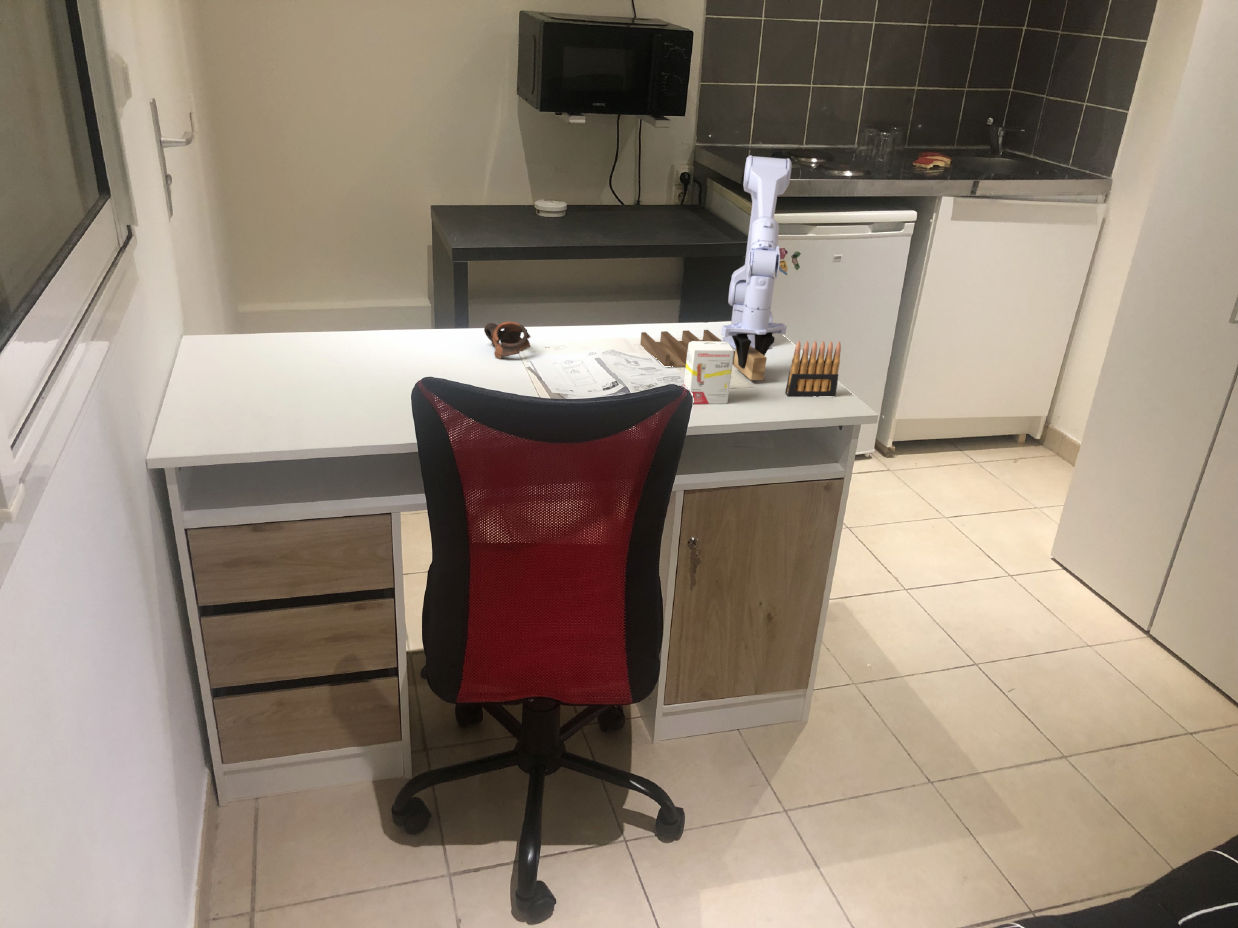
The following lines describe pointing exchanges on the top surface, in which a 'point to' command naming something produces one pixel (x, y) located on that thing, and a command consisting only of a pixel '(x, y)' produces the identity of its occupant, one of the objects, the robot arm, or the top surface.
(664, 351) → the notched ledge
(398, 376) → the top surface
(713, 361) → the ink box
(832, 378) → the ammunition clip
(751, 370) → the tall wooden plank
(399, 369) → the top surface
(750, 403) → the top surface
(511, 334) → the pottery mug
